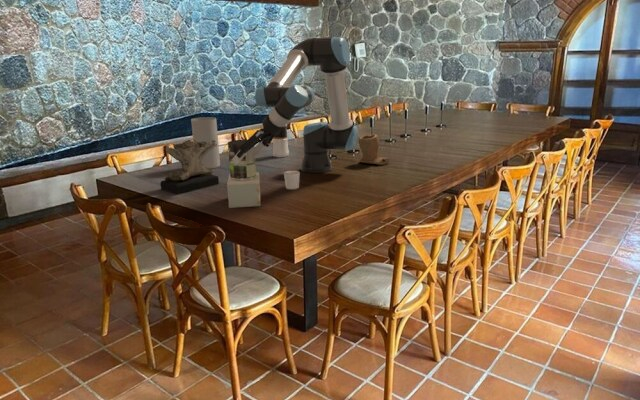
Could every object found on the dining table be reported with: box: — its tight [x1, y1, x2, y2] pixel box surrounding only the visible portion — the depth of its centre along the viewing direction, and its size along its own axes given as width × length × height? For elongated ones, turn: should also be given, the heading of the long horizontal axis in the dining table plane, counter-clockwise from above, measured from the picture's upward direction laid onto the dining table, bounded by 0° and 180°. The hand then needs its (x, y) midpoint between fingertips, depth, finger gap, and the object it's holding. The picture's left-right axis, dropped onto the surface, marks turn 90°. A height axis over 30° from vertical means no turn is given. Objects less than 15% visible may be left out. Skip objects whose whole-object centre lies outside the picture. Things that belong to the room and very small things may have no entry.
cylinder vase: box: [190, 116, 221, 170], centre depth 260 cm, size 12×12×25 cm
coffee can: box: [227, 139, 257, 180], centre depth 196 cm, size 10×10×14 cm
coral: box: [160, 139, 220, 196], centre depth 222 cm, size 25×20×22 cm
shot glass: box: [283, 170, 301, 190], centre depth 219 cm, size 7×7×7 cm
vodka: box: [272, 124, 290, 159], centre depth 281 cm, size 9×9×30 cm
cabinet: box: [226, 171, 261, 209], centre depth 199 cm, size 12×17×10 cm
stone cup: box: [358, 134, 391, 166], centre depth 258 cm, size 15×12×15 cm
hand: (244, 158), depth 196 cm, fingers open, 13 cm apart
